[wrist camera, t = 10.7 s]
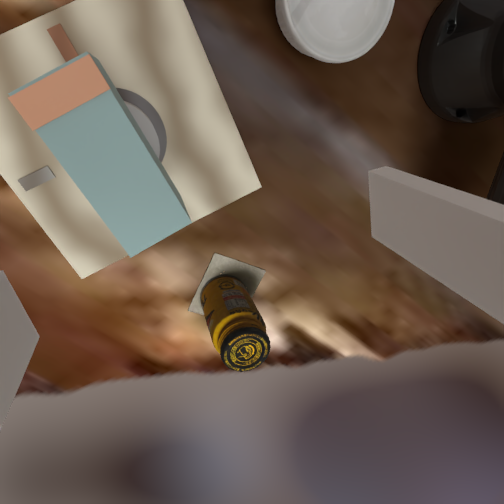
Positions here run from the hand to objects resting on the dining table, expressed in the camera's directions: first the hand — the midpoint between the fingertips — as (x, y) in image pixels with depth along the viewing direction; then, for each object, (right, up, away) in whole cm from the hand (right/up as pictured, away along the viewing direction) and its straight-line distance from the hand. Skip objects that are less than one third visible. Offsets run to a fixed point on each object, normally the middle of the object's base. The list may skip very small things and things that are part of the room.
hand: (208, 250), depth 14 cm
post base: (-12, +12, +25) cm, 30 cm away
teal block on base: (-11, +11, +22) cm, 27 cm away
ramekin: (+8, +25, +25) cm, 37 cm away
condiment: (-2, -5, +35) cm, 36 cm away
